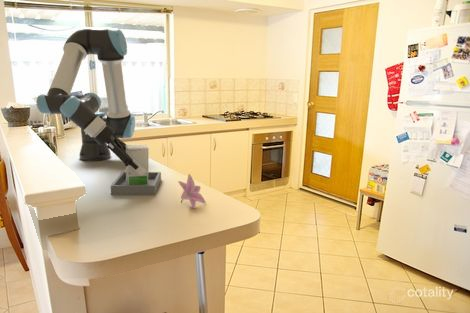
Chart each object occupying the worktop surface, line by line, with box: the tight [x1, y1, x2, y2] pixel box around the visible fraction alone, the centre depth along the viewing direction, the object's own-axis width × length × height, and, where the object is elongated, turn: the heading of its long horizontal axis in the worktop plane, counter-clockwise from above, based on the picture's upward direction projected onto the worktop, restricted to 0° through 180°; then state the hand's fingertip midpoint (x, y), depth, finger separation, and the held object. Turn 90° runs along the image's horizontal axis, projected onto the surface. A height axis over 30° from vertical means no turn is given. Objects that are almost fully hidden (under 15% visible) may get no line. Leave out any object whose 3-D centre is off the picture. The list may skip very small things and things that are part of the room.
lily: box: [177, 173, 207, 210], centre depth 119 cm, size 12×12×10 cm
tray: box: [110, 171, 162, 196], centre depth 135 cm, size 18×16×4 cm
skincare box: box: [125, 144, 149, 185], centre depth 134 cm, size 8×7×16 cm
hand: (144, 168), depth 135 cm, fingers open, 11 cm apart
